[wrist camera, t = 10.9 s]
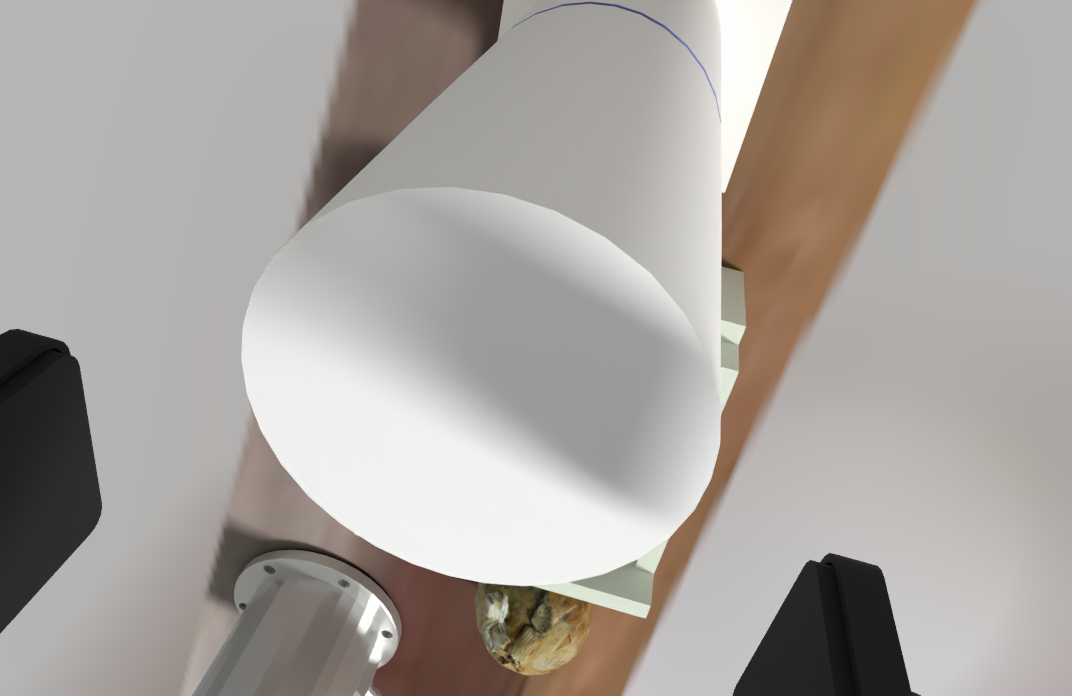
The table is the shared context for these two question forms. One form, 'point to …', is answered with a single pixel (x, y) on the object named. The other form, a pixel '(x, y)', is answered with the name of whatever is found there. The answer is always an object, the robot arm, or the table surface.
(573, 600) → the onion
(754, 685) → the robot arm
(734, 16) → the tile
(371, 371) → the cylindrical container
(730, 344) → the frame
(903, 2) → the table surface
